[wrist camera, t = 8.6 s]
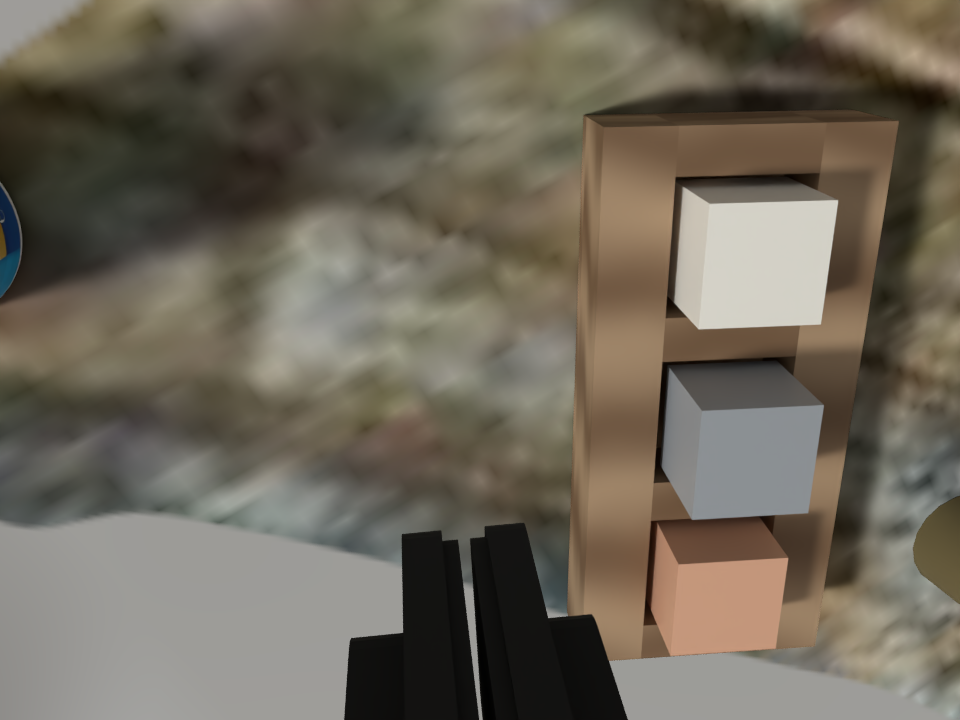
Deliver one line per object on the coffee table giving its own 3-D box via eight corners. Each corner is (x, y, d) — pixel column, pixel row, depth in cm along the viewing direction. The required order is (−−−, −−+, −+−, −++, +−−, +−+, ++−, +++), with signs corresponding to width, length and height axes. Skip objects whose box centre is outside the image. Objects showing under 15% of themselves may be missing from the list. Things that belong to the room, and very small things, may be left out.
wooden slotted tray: (583, 115, 39) (603, 127, 35) (851, 109, 40) (899, 120, 36) (567, 612, 49) (581, 662, 45) (783, 597, 50) (814, 646, 46)
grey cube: (667, 365, 40) (702, 411, 36) (776, 360, 40) (823, 405, 36) (660, 464, 42) (692, 519, 38) (764, 459, 42) (807, 513, 38)
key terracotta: (649, 507, 44) (678, 564, 40) (748, 501, 45) (788, 557, 40) (643, 592, 46) (670, 655, 42) (739, 586, 46) (775, 648, 42)
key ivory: (672, 179, 38) (709, 203, 34) (786, 176, 39) (838, 200, 34) (664, 292, 40) (698, 329, 36) (773, 288, 40) (820, 324, 36)
